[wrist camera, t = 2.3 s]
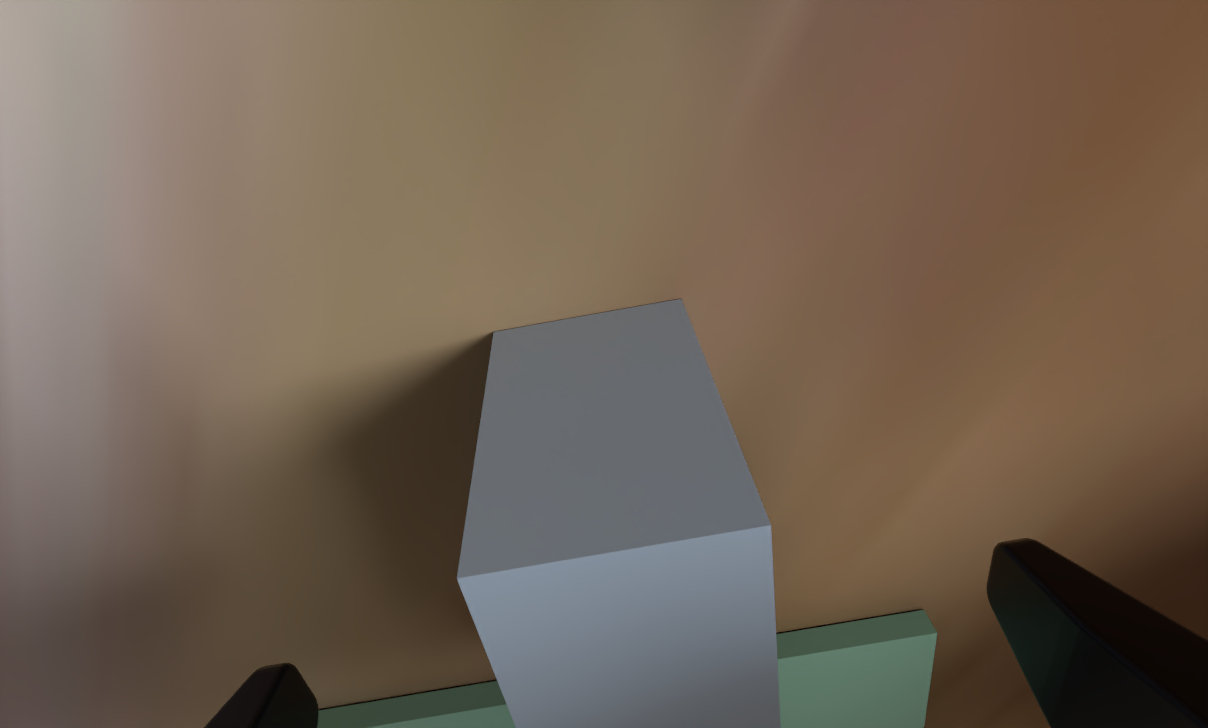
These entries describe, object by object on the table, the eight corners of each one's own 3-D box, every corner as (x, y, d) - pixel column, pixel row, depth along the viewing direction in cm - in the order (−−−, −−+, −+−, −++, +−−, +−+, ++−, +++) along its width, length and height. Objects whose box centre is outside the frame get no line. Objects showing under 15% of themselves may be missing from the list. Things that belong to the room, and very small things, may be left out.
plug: (681, 298, 11) (770, 525, 6) (712, 564, 14) (785, 838, 9) (493, 331, 11) (456, 578, 6) (565, 588, 14) (573, 872, 9)
